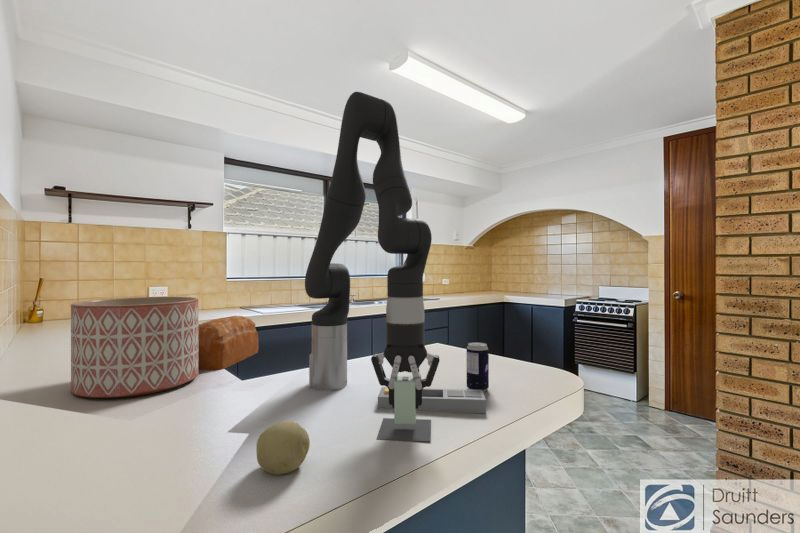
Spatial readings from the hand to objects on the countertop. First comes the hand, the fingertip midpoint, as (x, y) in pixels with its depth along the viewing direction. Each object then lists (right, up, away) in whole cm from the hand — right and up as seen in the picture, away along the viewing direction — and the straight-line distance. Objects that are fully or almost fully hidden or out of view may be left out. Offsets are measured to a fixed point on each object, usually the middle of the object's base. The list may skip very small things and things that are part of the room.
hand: (405, 406), depth 77 cm
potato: (-20, -5, -15) cm, 25 cm away
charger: (0, -3, 0) cm, 3 cm away
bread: (-59, -5, +52) cm, 79 cm away
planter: (-69, -5, +25) cm, 74 cm away
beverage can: (+19, -5, +25) cm, 32 cm away
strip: (+6, -5, +14) cm, 16 cm away
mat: (0, -5, 0) cm, 5 cm away
